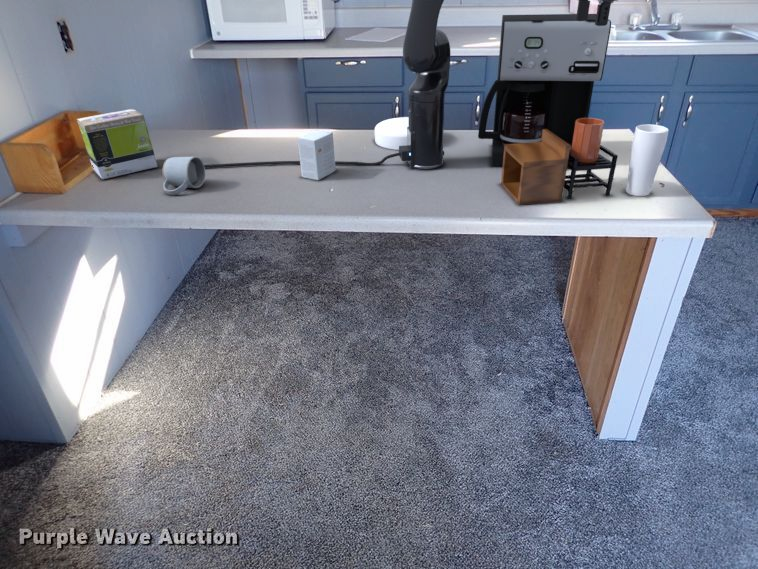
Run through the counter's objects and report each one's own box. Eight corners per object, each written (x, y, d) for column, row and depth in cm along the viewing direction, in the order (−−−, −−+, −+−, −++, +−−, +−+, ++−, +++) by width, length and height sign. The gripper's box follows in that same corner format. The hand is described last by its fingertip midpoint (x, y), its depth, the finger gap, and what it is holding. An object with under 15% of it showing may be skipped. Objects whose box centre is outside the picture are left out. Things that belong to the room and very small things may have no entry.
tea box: (147, 159, 158) (134, 107, 151) (158, 168, 151) (144, 114, 144) (92, 171, 151) (75, 116, 143) (101, 180, 144) (83, 124, 136)
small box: (319, 168, 148) (315, 129, 142) (336, 171, 145) (333, 131, 140) (301, 177, 142) (296, 137, 136) (318, 180, 139) (314, 140, 134)
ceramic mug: (180, 179, 143) (173, 150, 139) (208, 181, 141) (202, 152, 137) (156, 195, 134) (148, 165, 130) (185, 197, 132) (178, 167, 128)
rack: (568, 199, 125) (574, 158, 120) (549, 182, 134) (554, 143, 129) (609, 196, 126) (618, 155, 121) (588, 179, 135) (594, 141, 130)
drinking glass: (634, 200, 123) (649, 134, 116) (615, 189, 129) (628, 125, 121) (659, 196, 125) (676, 130, 117) (640, 186, 130) (654, 122, 123)
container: (443, 149, 159) (444, 133, 156) (375, 151, 159) (374, 135, 156) (436, 129, 176) (437, 115, 173) (374, 131, 176) (374, 117, 173)
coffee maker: (476, 166, 145) (485, 21, 127) (477, 144, 161) (486, 13, 143) (586, 170, 140) (613, 20, 122) (576, 147, 157) (599, 11, 138)
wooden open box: (519, 205, 123) (525, 148, 116) (500, 184, 134) (505, 131, 127) (561, 201, 124) (570, 145, 117) (539, 181, 135) (546, 128, 128)
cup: (577, 163, 123) (583, 125, 119) (565, 155, 128) (571, 118, 124) (602, 161, 124) (609, 123, 119) (590, 153, 129) (596, 117, 124)
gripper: (570, -71, 107) (558, 20, 116) (605, -74, 95) (589, 28, 104) (606, -72, 108) (592, 19, 116) (645, -76, 96) (626, 26, 104)
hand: (590, 23), depth 110 cm, fingers open, 8 cm apart
